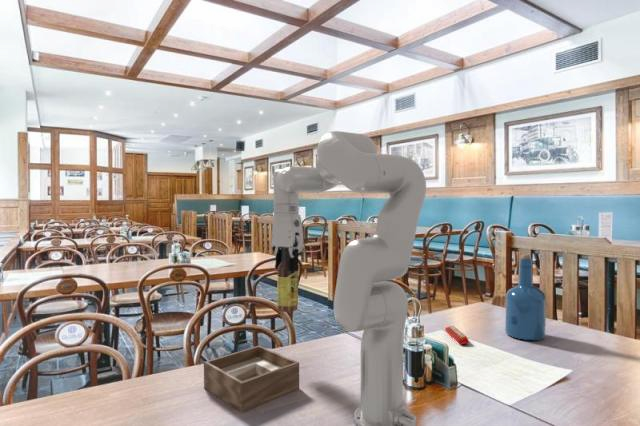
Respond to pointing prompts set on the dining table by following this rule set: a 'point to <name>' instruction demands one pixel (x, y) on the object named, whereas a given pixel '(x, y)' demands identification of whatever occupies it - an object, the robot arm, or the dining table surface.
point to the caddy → (251, 377)
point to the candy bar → (457, 335)
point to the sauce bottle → (287, 284)
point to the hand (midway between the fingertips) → (286, 268)
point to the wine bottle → (525, 306)
